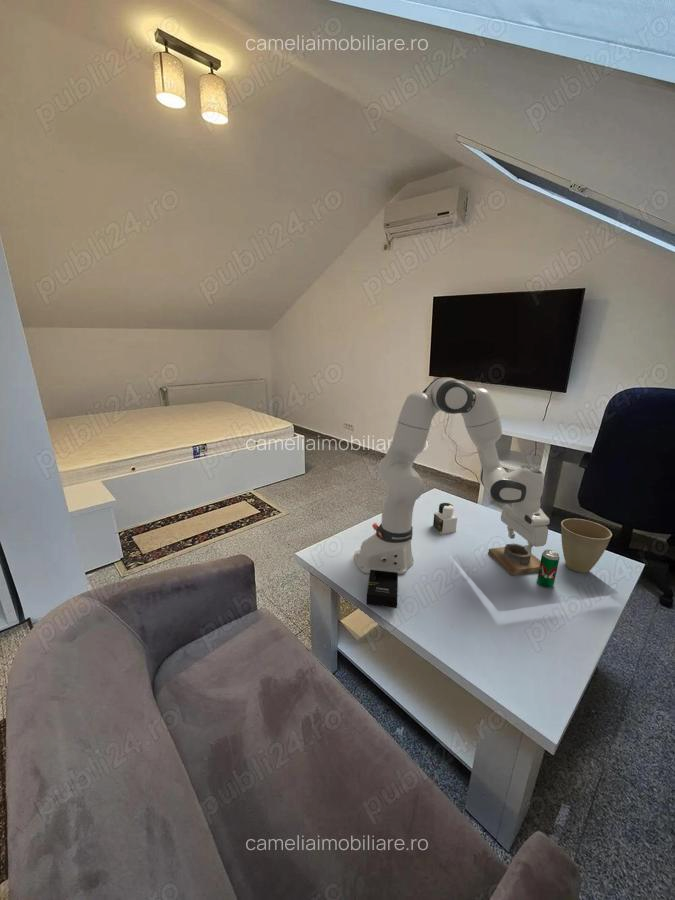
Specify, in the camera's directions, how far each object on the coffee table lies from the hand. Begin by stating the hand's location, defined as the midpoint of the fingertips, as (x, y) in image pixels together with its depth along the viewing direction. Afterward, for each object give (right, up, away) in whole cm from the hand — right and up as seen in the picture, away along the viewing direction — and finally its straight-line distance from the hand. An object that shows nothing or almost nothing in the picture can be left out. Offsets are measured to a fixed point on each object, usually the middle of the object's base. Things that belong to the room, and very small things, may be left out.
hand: (519, 544), depth 132 cm
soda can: (+4, -11, -10) cm, 15 cm away
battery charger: (-52, -13, -14) cm, 56 cm away
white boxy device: (-20, 0, +25) cm, 32 cm away
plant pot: (+21, -8, -1) cm, 22 cm away
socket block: (0, -7, +2) cm, 8 cm away
